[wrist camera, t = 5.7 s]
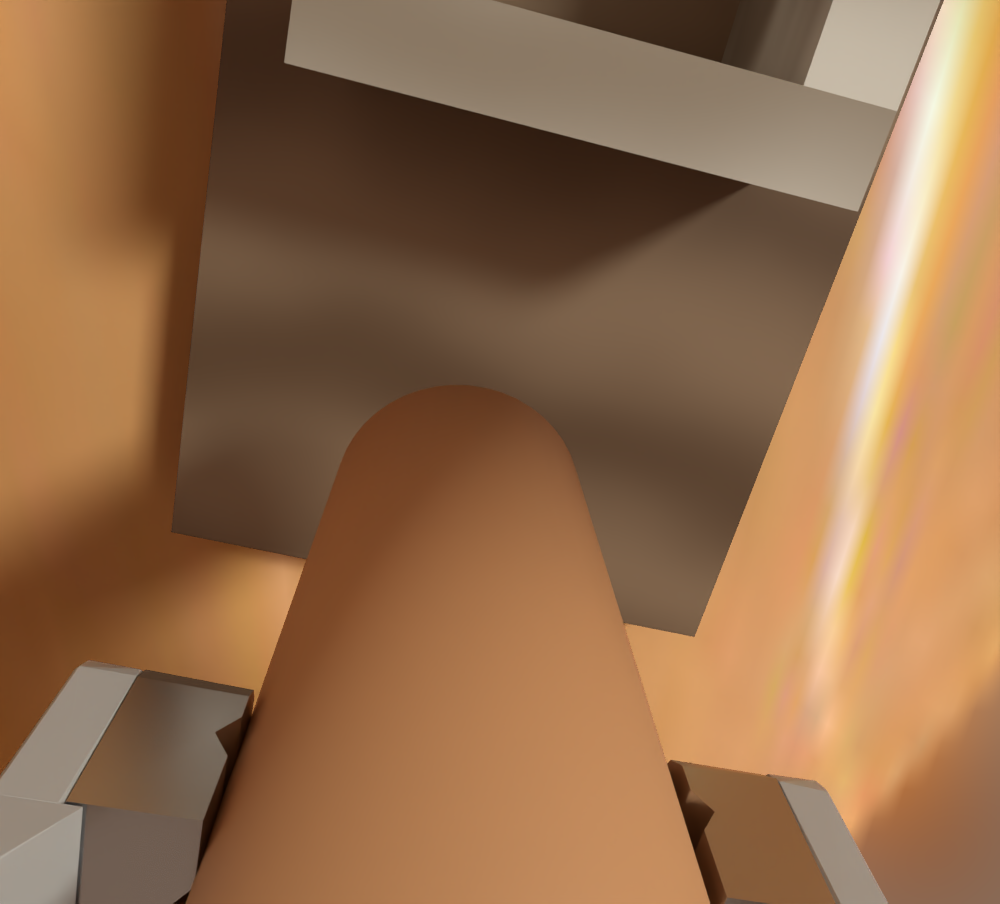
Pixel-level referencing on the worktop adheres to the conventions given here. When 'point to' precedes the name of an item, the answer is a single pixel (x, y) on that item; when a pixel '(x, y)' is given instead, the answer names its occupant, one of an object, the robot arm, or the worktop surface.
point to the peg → (452, 690)
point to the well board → (531, 246)
